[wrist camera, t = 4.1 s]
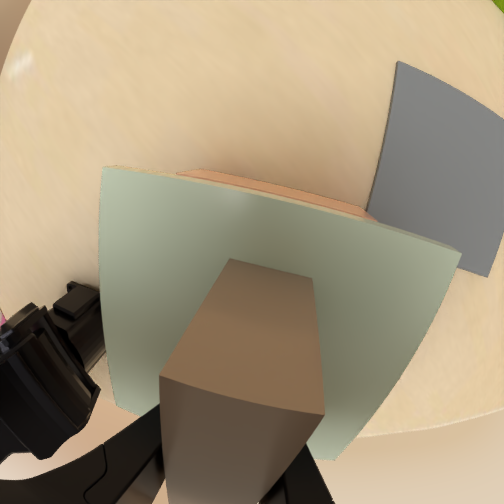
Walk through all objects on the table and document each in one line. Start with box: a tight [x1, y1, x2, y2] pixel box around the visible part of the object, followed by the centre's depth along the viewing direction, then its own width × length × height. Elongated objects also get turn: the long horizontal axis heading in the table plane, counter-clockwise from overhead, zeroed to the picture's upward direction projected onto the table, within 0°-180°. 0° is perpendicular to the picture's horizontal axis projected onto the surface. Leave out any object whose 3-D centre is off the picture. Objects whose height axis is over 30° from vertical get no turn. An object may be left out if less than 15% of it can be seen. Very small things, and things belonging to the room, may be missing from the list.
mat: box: [366, 61, 504, 277], centre depth 16 cm, size 13×13×1 cm
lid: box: [99, 165, 462, 504], centre depth 8 cm, size 12×12×6 cm
